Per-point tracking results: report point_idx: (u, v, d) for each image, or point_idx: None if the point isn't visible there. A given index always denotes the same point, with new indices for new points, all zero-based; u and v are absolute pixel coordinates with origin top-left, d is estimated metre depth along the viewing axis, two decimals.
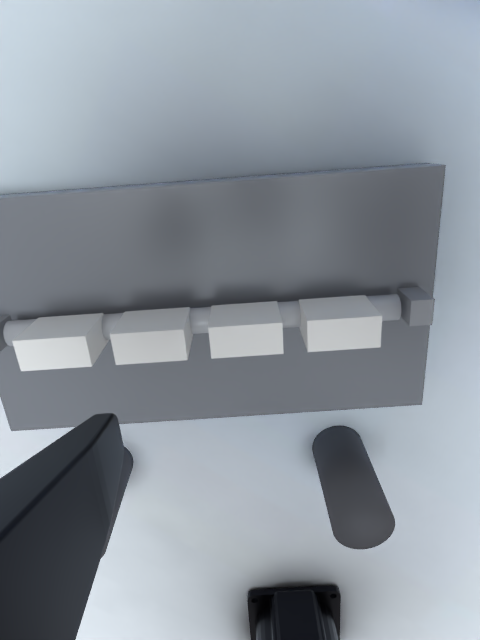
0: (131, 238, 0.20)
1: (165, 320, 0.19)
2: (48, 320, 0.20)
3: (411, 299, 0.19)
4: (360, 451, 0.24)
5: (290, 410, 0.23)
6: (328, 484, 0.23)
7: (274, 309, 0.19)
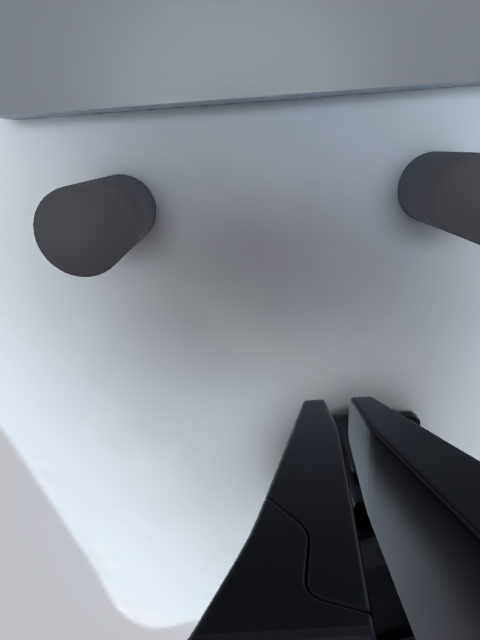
0: None
1: None
2: None
3: None
4: None
5: (383, 82, 0.17)
6: (441, 177, 0.16)
7: None
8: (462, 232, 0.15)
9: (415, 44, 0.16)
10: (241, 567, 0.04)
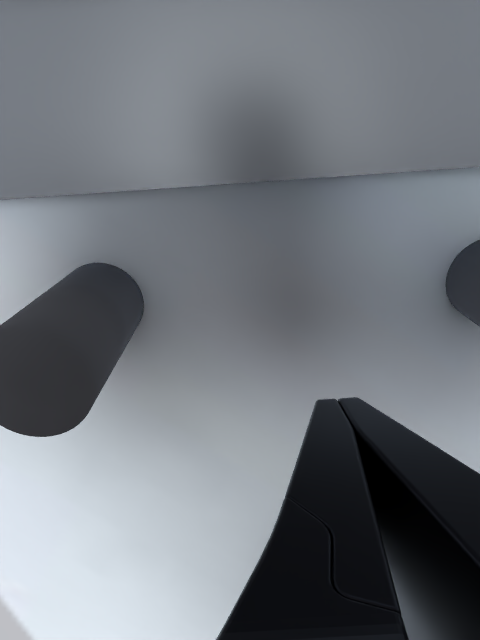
0: None
1: None
2: None
3: None
4: None
5: (439, 163, 0.13)
6: None
7: None
8: None
9: None
10: (266, 565, 0.04)
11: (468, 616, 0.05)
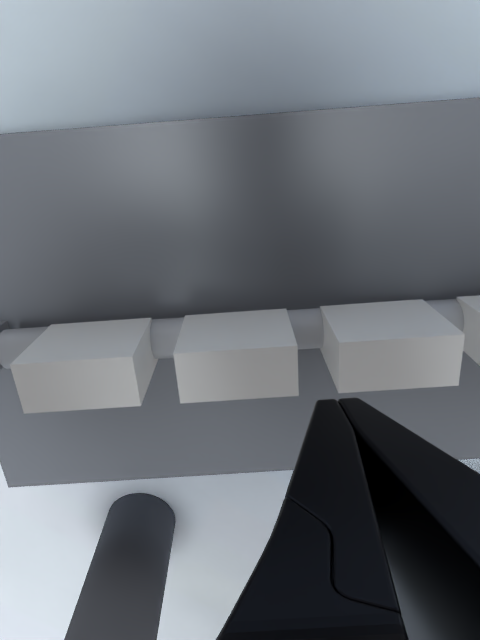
0: (197, 200, 0.13)
1: (257, 329, 0.12)
2: (67, 329, 0.13)
3: None
4: None
5: None
6: None
7: (430, 312, 0.12)
8: None
9: (445, 430, 0.16)
10: (266, 565, 0.04)
11: (468, 616, 0.05)
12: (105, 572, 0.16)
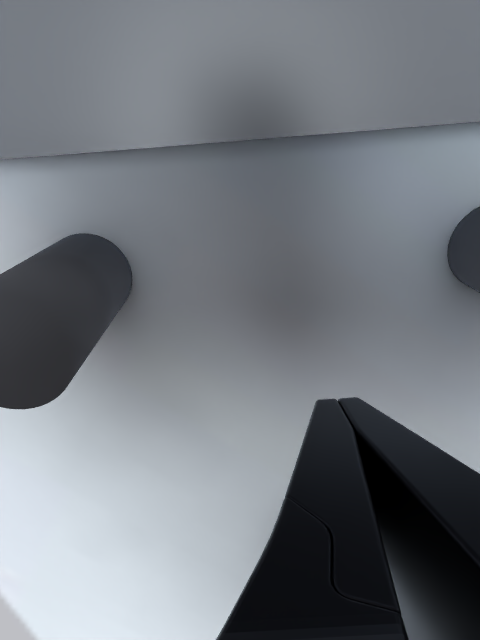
0: None
1: None
2: None
3: None
4: None
5: (442, 118, 0.12)
6: None
7: None
8: None
9: None
10: (266, 565, 0.04)
11: (469, 616, 0.05)
12: (20, 264, 0.11)
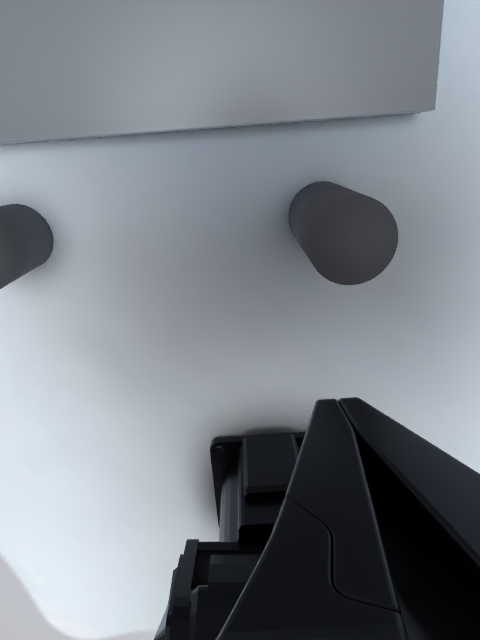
0: None
1: None
2: None
3: None
4: None
5: (252, 119, 0.17)
6: (305, 212, 0.16)
7: None
8: None
9: (280, 83, 0.17)
10: (266, 565, 0.04)
11: (468, 616, 0.05)
12: None
